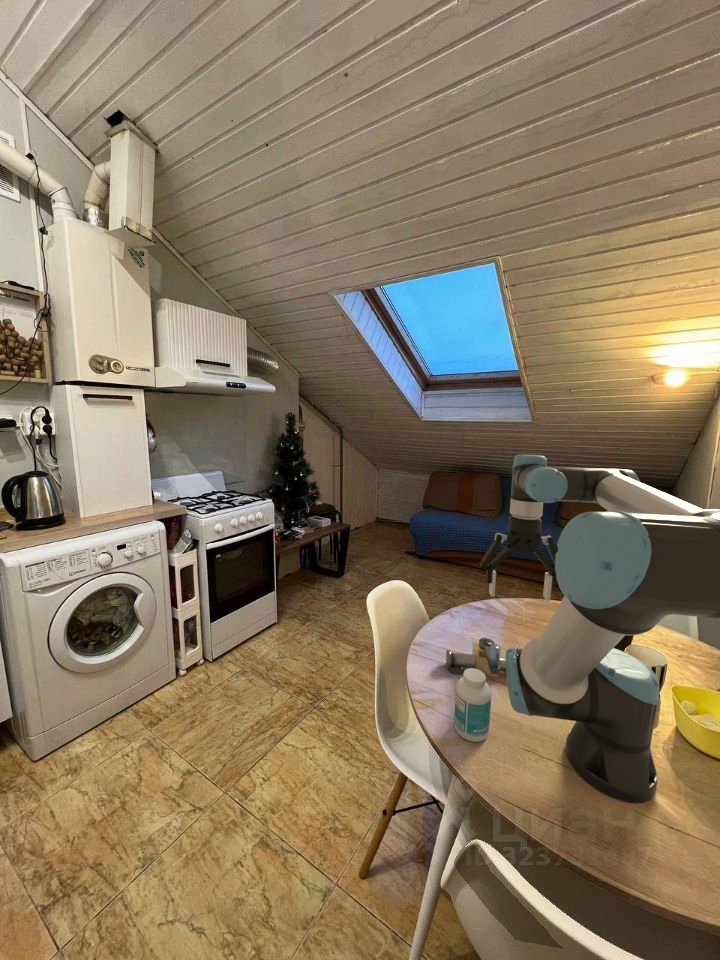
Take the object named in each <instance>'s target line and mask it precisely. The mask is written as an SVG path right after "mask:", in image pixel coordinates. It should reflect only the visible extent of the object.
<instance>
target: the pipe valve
mask: <svg viewBox="0 0 720 960" xmlns="http://www.w3.org/2000/svg"><path fill="white" fill-rule="evenodd" d="M445 665H446V669H449V673H450V674H453V675H454V674H455V675H463V673H462V672H463V669H462V668H464V669H469V668H474V669H478V670H480V671H482V672H483V673H484V674H485V676H486V679H490V680H491V679H493V680H499V676H500V675H499V674H491V671H490V669H489V665H488V662H487V659H486V656H485V653H484V651H483V650H481V649H480V648H479V643H472V653H461V652H452V651H451V649H446V651H445ZM499 667H500V672H505V673H506V656H505V657H504V656H500V664H499Z"/></svg>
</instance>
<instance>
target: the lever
mask: <svg viewBox="0 0 720 960" xmlns="http://www.w3.org/2000/svg"><path fill="white" fill-rule="evenodd" d="M478 644H479V648H480V649H481V650H483V651H484V653H485V656H486V659H487V662H488V665H489V669H490V671H491V674H499V676H500V675H501V671H500V667H499V664H500V657H501V650H502V646H500V644H497V643H495V641H494V640H493V639H491V638H488V637H482V638H480V639H479V641H478Z"/></svg>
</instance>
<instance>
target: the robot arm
mask: <svg viewBox="0 0 720 960" xmlns="http://www.w3.org/2000/svg"><path fill="white" fill-rule="evenodd" d="M511 470H512V477H511V492H510V493H511V494H510V504H509V513H510V515H509V517H508V527H507V528H508V529H507V530H508V531H507V533H506V534H502V533H499V532H498V531H497V532H495V533H494V537H493V541H492V542H491V544H490V545H489V547H488V548H487V550H486V552H485V554H484V555H483V557H482V558H481V560H480V561H479V565H480V567H481V569H482V570H486V573H485V575H486V576H485V580H486V582H487V584H489V586H488V588H489V589H488V590H489V591H488V593H489V595H490V597H491V598H495V595H496V594H495V593H496V578H497V572H496V568H498V567H499V566H500V565H501V564H502V563H503V562H504V561H505V560H506V559H507V558H508V557H510V555H512V554H514V553H518V554H522V553H524V554H530V555H531V553H534V555H535V556H536V557H537V559H538V560H539V561H540V562H541V564H542V565H543V566H544V568H545V569H547V572H545V573H544V583H543V593H542V597H543V598H544V599H545V600H546V602H551V595H552V588H555V586H556V584H557V585H558V587H559V589H560V591H561V592H562V595H564V596H563V598H562V599H561V600H560V603H559V604H558V606H557V608H556V610H555V611H554V613H553V615H552V616H551V618H550V620H549V622H548V623H547V625H546V627H545V629H544V630H543V632H542V634H541V636H540V637H539V638H538V637H537V638H534V639H532V640H530V641H528V642H527V643H526V644H525V645H524V646H523V648H522V649H521V648H519V647H509V648H508V649H507V650H506V651H505V658H506V672H505V673H506V682H507V691H508V692H507V693H508V697H509V702H510V705H511V708H512V709H513V711H515V712H516V713H520V714H522V715H523V714H524V715H527V716H529V717H532V716H533V717H541V718H548V719H549V718H550V719H559V720H566V721H573V722H575V723H574V724H573V726H572V728H571V729H570V730H569V731H568V734H567V736H566V742H565V755H566V758H567V761H568V762H569V763H570V765H571V767H572V768H573V770H574V771H575V772H576V773H577V775H578V776H579V777H580V778H581V779H582V780H584V782H586V784H588V785H589V786H590V787H592V788H594V789H595V790H597V791H598V792H600V793H601V794H603V795H605V796H607V797H609V798H612V799H614V800H617V801H621V802H624V803H629V804H643V803H647V802H648V801H650V800H652V799H653V798H654V796H655V794H656V791H657V786H658V773H657V769H656V765H655V760H654V757H653V754H652V749H651V745H652V740H653V739H652V738H653V735H654V734H653V731H654V727H655V720H656V715H657V710H658V705H659V704H660V681H659V679H658V677H657V675H656V674H655V673H654V671H653V670H652V669H651V668H650V667H649V666H647V664H645V663H644V662H643V661H641V660H640V659H638V658H636V657H635V656H633V655H631V654H629V653H628V654H627V653H625V652H623V651H620V650H618V649H615V648H614V647H615V646H616V645H617V644H618V642H619V641H620V640H621V639H622V638H623V637H624V636H625V635H630V636H632V635H634V636H638V635H643V634H645V633H648V632H649V631H651V630H652V629H653V628H655V627H656V626H657V625H658V624H659V623H660V622H661V621H662V620H663V619H664V618H665V617H667V616H671V615H674V616H675V615H677V616H688V617H698V618H699V617H700V618H710V619H711V618H712V619H718V620H719V619H720V509H717V508H714V509H713V508H711V509H704V508H702V507H699V506H697V505H694V504H692V503H690V502H687V501H685V500H684V499H683V500H682V499H680V498H678V497H676V496H673V495H671V494H669V493H667V492H664V491H661V490H659V489H657V488H654V487H652V486H650V485H647V484H646V483H644V482H643V483H642V482H641V481H640V478H639V476H637V473H636V472H635V471H633V470H632V469H621V468H618V467H617V468H615V467H614V468H597V467H596V468H595V467H594V468H593V467H573V466H572V467H571V466H567V467H566V466H548V461H547V457H546V456H544V455H539V454H516V455H515V456H514V458H513V464H512V467H511ZM557 502H569V503H570V502H573V503H594V504H598V505H599V506H601V507H602V508H604V509H605V510H606V511H586V512H582V513H579V514H577V515H575V516H574V517H573V518H571V519H570V520H569V521H568V522H567V524H566V525H564V528H563V530H562V531H561V533H560V536H559V538H558V540H557V545H556V546H557V549H556V547H555V539H554V538H553V537H552V536H551V535H549V534H547V535H545V536H541V533H542V521H543V520H542V519H541V517H543V513H544V510H543V509H544V508H543V507H544V504H552V503H557ZM505 541H507V544H506V545H504V548H503V549H502V550H501V551H500V552H499V553H498V554H497V555H496V556H495V554H496V553H497V551H498V550H499V548H500V546H501V545H502V543H504V542H505ZM542 543H543V544H544V545H545V547H546V550H547V551H548V553H549V556H550V557H551V560H552V562H553V565H554V567H553V566H552V564H551V563H550V562H549V561H548V559H547V558H546V557H545V556H544V554H543V553H542V552H541V550H540V549H539V548H538V547H539V546H540V545H541V544H542ZM494 556H495V557H494ZM493 557H494V558H493ZM556 581H557V583H556Z"/></svg>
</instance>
